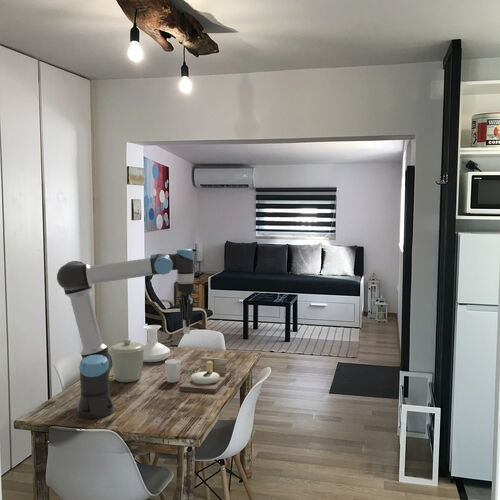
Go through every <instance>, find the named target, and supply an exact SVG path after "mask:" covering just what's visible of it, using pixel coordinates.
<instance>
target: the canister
mask: <svg viewBox="0 0 500 500" xmlns="http://www.w3.org/2000/svg"><path fill="white" fill-rule="evenodd" d="M144 345H145V344H142V343H141V342H134V341H131V339H130V338H125V339H123V342H120V343H116V344H113V345H112V346H110V347H109V348H108V352H109V354H110V355H111V357H112V371H113V377H114V380H115V381H117V382H118V383H119V382H120V383H133V382H136V381H137V380H139V379H140V378H141V377H142V374H143V365H144V364H143V363H144V362H143V356H144V349H145V346H144Z"/></svg>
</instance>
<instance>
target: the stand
mask: <svg viewBox="0 0 500 500" xmlns="http://www.w3.org/2000/svg"><path fill="white" fill-rule="evenodd" d="M208 361H211V362H212V363H213V372H215V373H218V374H219V381H218V382H216V383H212V384H196V383H193V382H192V381H191V376H190V377H188V378H187V379H185V381H184V382H182V383H181V384H180V385H179V389H178V390H179V391H183V392H192V393H193V392H194V393H203V394H204V393H206V394H207V393H208V394H216V393H217V392H218V391H219V390H220V389H221V387H223V385H225V383H226V382H227V381H228V380H229V379H230V378H231V376H232V372H231V371H228V359H227V358H217V357H202V356H201V357H200V369H197V370H196V371H195V372H194V373H197V372H207V362H208Z"/></svg>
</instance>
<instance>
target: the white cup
mask: <svg viewBox="0 0 500 500" xmlns="http://www.w3.org/2000/svg"><path fill="white" fill-rule="evenodd" d="M164 361H165V362H164V365H165V366H164V367H165V369H164V370H165V376H166V377H165V378H166V380H165V381H166V382H167V383H171V384H172V383H178V382H180V381H181V369H182V368H181V366H182V364H181V363H182V362H181V359H177V358H172V359H167V360H166V359H165V360H164Z"/></svg>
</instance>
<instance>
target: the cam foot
mask: <svg viewBox="0 0 500 500" xmlns="http://www.w3.org/2000/svg"><path fill="white" fill-rule="evenodd" d="M190 377H191V381H192V382H193V383H196V384H212V383H216V382H218V381H219V374H218V373H215V372H213V363H212V362H211V361H208V362H207V372H197V373H195V372H194V373H192V374H191V376H190Z"/></svg>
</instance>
